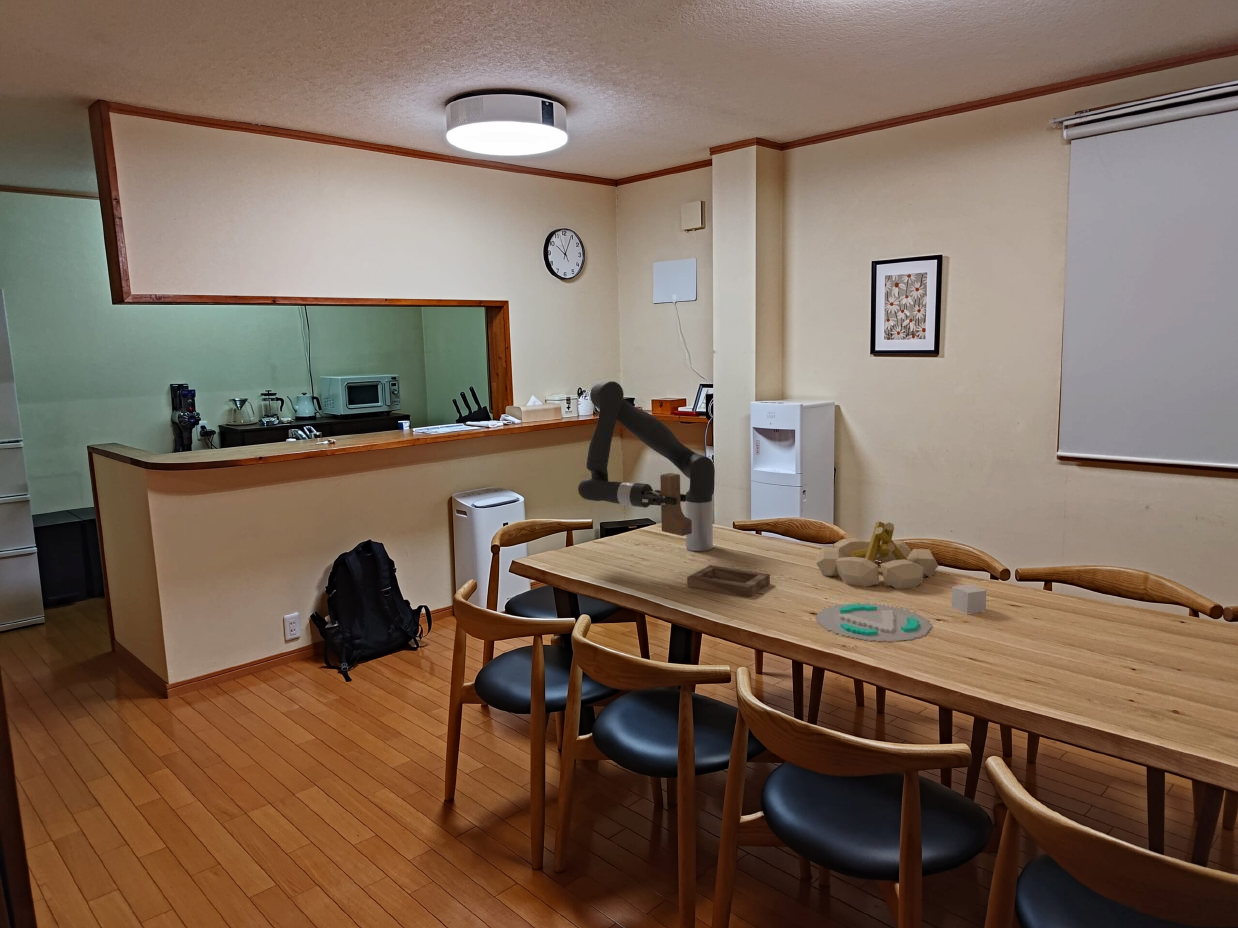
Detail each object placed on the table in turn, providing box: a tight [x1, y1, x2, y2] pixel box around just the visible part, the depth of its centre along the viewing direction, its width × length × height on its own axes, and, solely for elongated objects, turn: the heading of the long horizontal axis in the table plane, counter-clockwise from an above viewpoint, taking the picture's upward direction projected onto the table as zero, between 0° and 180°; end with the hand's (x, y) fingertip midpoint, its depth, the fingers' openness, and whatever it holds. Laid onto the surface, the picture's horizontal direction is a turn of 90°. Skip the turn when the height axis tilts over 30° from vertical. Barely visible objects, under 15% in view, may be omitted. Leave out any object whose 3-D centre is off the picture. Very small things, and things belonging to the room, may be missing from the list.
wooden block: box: [659, 472, 692, 537], centre depth 251 cm, size 9×4×18 cm, turn 42°
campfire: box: [815, 521, 939, 590], centre depth 253 cm, size 35×34×17 cm
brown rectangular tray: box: [686, 564, 771, 598], centre depth 245 cm, size 15×20×3 cm
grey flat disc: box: [815, 602, 934, 643], centre depth 211 cm, size 28×28×2 cm
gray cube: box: [950, 583, 987, 615], centre depth 219 cm, size 6×6×6 cm
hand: (681, 499), depth 250 cm, fingers closed on wooden block, 5 cm apart
